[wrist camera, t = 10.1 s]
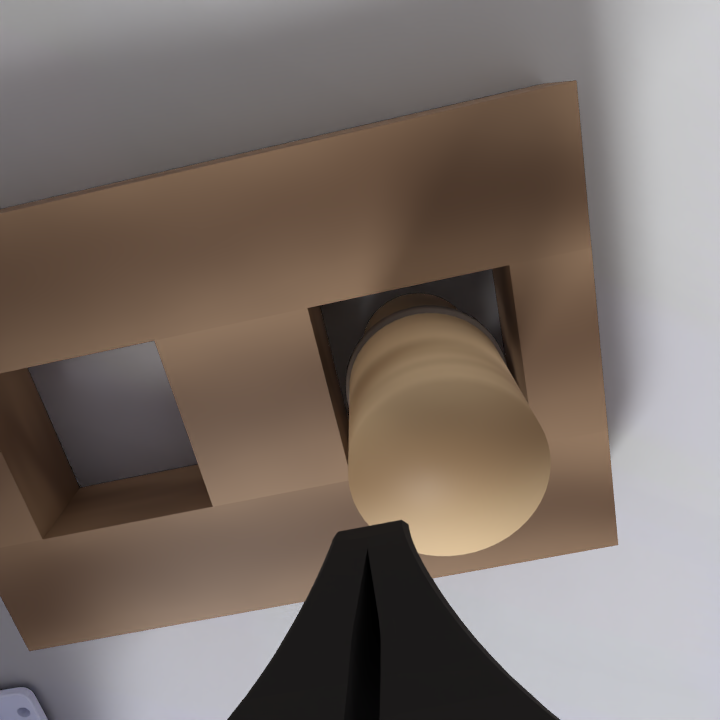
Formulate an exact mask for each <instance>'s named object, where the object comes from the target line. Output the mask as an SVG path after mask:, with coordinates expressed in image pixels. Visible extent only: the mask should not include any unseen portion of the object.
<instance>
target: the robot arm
mask: <svg viewBox="0 0 720 720" xmlns="http://www.w3.org/2000/svg"><path fill="white" fill-rule="evenodd" d="M0 720H48V719H47V717H46V715H45V713H44V711H43V710H42V708H41V706H40V704H39V702H38V700H37V698H36V697H35V695H34V693H33V692H32V691H31V690H30V689H28V688H25V687H17V688H11V689H5V690H0ZM227 720H560V719H559V718H557V717H556V716H555V715H554V714H552V713H551V712H550V711H549V710H548V709H546V708H545V707H544V706H543V705H542V704H541V703H540V702H539V701H538V700H537V699H535V698H534V697H533V696H532V695H531V694H530V693H529V692H528V691H527V690H526V689H524V688H523V687H522V686H521V685H520V684H519V683H518V682H517V681H516V680H515V679H513V678H512V677H511V676H510V675H509V674H508V673H507V672H506V671H505V670H504V669H503V668H502V666H501V665H500V664H499V663H498V662H497V661H496V660H495V659H494V658H493V657H492V656H491V655H490V654H489V653H488V652H487V651H486V649H485V648H484V647H483V646H482V645H481V644H480V643H479V642H478V640H477V639H476V638H475V637H474V636H473V634H472V633H471V632H470V631H469V630H468V628H467V627H466V626H465V625H464V623H463V622H462V621H461V619H460V618H459V617H458V615H457V614H456V613H455V611H454V610H453V609H452V607H451V606H450V605H449V603H448V602H447V600H446V599H445V597H444V596H443V595H442V593H441V592H440V590H439V588H438V587H437V585H436V584H435V582H434V580H433V579H432V577H431V576H430V574H429V572H428V571H427V569H426V567H425V565H424V564H423V562H422V560H421V558H420V556H419V554H418V552H417V550H416V547H415V545H414V543H413V540H412V538H411V533H410V529H409V524H408V523H406V522H404V521H403V520H397V521H392V522H387V523H381V524H376V525H371V526H365V527H360V528H355V529H349V530H344V531H339V532H337V534H336V535H335V536H334V538H333V540H332V543H331V545H330V548H329V550H328V553H327V555H326V558H325V560H324V562H323V565H322V567H321V569H320V571H319V573H318V576H317V578H316V580H315V582H314V584H313V586H312V588H311V590H310V592H309V594H308V596H307V598H306V600H305V602H304V604H303V606H302V608H301V610H300V612H299V614H298V615H297V617H296V619H295V621H294V623H293V624H292V626H291V628H290V629H289V631H288V633H287V634H286V636H285V638H284V640H283V641H282V643H281V645H280V646H279V648H278V650H277V651H276V653H275V655H274V656H273V658H272V659H271V661H270V662H269V664H268V665H267V667H266V668H265V670H264V671H263V673H262V674H261V676H260V677H259V678H258V680H257V681H256V683H255V684H254V686H253V687H252V688H251V690H250V691H249V692H248V694H247V695H246V697H245V698H244V699H243V700H242V702H241V703H240V704H239V705H238V707H237V708H236V709H235V710H234V712H233V713H232V714H231V716H230V717H229V718H228V719H227Z"/></svg>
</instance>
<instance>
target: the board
mask: <svg viewBox="0 0 720 720" xmlns="http://www.w3.org/2000/svg"><path fill="white" fill-rule="evenodd" d="M489 269H492V271H493V278H494V284H495V291H496V298H497V305H498V312H499V318H500V325H501V332H502V339H503V346H504V352H505V359H506V363H507V368H508V370H509V371H510V373H511V375H512V377H513V378H514V380H515V382H516V384H517V385H518V387H519V389H520V390H521V392H522V394H523V396H524V397H525V399H526V401H527V403H528V404H529V406H530V408H531V410H532V411H533V413H534V415H535V416H536V418H537V420H538V422H539V423H540V425H541V427H542V429H543V431H544V433H545V436H546V439H547V442H548V445H549V450H550V457H551V469H550V477H549V481H548V485H547V489H546V491H545V494H544V496H543V498H542V500H541V502H540V504H539V506H538V507H537V509H536V510H535V512H534V513H533V514H532V516H531V517H530V518H529V519H528V521H527V522H525V523H524V524H523V525H522V526H521V527H520V528H519V529H518V530H517V531H516V532H514V533H513V534H512V535H510V536H509V537H507V538H506V539H504V540H502V541H501V542H499V543H497V544H495V545H493V546H490V547H488V548H486V549H483V550H480V551H477V552H473V553H468V554H464V555H456V556H432V555H424V554H420V553H418V554H419V556H420V558H421V560H422V562H423V564H424V565H425V567H426V569H427V571H428V572H429V574H430V576H431V577H432V578H437V577H443V576H449V575H454V574H460V573H465V572H471V571H476V570H482V569H487V568H493V567H498V566H504V565H509V564H515V563H521V562H526V561H532V560H537V559H543V558H548V557H554V556H559V555H565V554H570V553H576V552H581V551H587V550H593V549H598V548H604V547H609V546H615V545H618V538H617V526H616V515H615V504H614V493H613V482H612V471H611V460H610V449H609V437H608V426H607V415H606V404H605V393H604V382H603V371H602V359H601V348H600V337H599V326H598V315H597V304H596V293H595V282H594V270H593V259H592V248H591V237H590V226H589V215H588V204H587V192H586V181H585V170H584V159H583V148H582V137H581V126H580V114H579V103H578V92H577V81H566V82H555V83H545V84H540V85H535V86H531V87H527V88H522V89H518V90H514V91H509V92H505V93H501V94H496V95H492V96H488V97H483V98H479V99H475V100H471V101H466V102H462V103H458V104H453V105H449V106H445V107H440V108H436V109H432V110H427V111H423V112H419V113H414V114H410V115H406V116H401V117H397V118H393V119H388V120H384V121H380V122H375V123H371V124H367V125H362V126H358V127H354V128H350V129H345V130H341V131H337V132H332V133H328V134H324V135H319V136H315V137H311V138H306V139H302V140H298V141H293V142H289V143H285V144H280V145H276V146H272V147H267V148H263V149H259V150H254V151H250V152H246V153H241V154H237V155H233V156H228V157H224V158H220V159H216V160H211V161H207V162H203V163H198V164H194V165H190V166H185V167H181V168H177V169H172V170H168V171H164V172H159V173H155V174H151V175H146V176H142V177H138V178H133V179H129V180H125V181H120V182H116V183H112V184H107V185H103V186H99V187H94V188H90V189H86V190H82V191H77V192H73V193H69V194H64V195H60V196H56V197H51V198H47V199H43V200H38V201H34V202H30V203H25V204H21V205H17V206H12V207H8V208H4V209H0V596H1V598H2V600H3V602H4V604H5V606H6V608H7V610H8V612H9V613H10V615H11V617H12V619H13V621H14V623H15V625H16V627H17V629H18V631H19V633H20V634H21V636H22V638H23V640H24V642H25V644H26V646H27V648H28V650H29V651H33V650H39V649H44V648H50V647H55V646H61V645H66V644H72V643H77V642H83V641H89V640H94V639H100V638H105V637H111V636H116V635H122V634H127V633H133V632H138V631H144V630H149V629H155V628H161V627H166V626H172V625H177V624H183V623H188V622H194V621H199V620H205V619H210V618H216V617H221V616H227V615H233V614H238V613H244V612H249V611H255V610H260V609H266V608H271V607H277V606H282V605H288V604H293V603H299V602H305V600H306V598H307V596H308V594H309V592H310V590H311V588H312V586H313V584H314V582H315V580H316V578H317V576H318V573H319V571H320V569H321V567H322V565H323V562H324V560H325V558H326V555H327V553H328V550H329V548H330V545H331V543H332V540H333V538H334V536H335V535H336V534H337V532H339V531H344V530H349V529H355V528H360V527H365V526H369V525H368V524H367V522H366V521H365V520H364V519H363V517H362V516H361V514H360V513H359V511H358V509H357V507H356V505H355V503H354V501H353V498H352V495H351V492H350V487H349V480H348V453H349V420H348V416H347V412H346V408H345V404H344V400H343V396H342V392H341V388H340V384H339V380H338V376H337V372H336V368H335V364H334V360H333V356H332V352H331V348H330V344H329V340H328V336H327V332H326V328H325V324H324V320H323V316H322V312H321V308H320V305H324V304H329V303H333V302H338V301H343V300H348V299H352V298H357V297H362V296H366V295H371V294H376V293H381V292H385V291H390V290H395V289H399V288H404V287H409V286H413V285H418V284H423V283H428V282H432V281H437V280H442V279H446V278H451V277H456V276H460V275H465V274H470V273H475V272H479V271H484V270H489ZM150 341H155V344H156V347H157V349H158V352H159V355H160V358H161V361H162V364H163V366H164V369H165V372H166V375H167V378H168V381H169V383H170V386H171V389H172V392H173V395H174V398H175V400H176V403H177V406H178V409H179V412H180V415H181V417H182V420H183V423H184V426H185V429H186V432H187V434H188V437H189V440H190V443H191V446H192V449H193V451H194V454H195V457H196V460H197V463H198V464H197V465H192V466H187V467H182V468H177V469H172V470H167V471H162V472H157V473H152V474H147V475H142V476H137V477H131V478H126V479H121V480H116V481H111V482H106V483H101V484H96V485H91V486H86V487H81V488H79V486H78V483H77V481H76V479H75V476H74V474H73V472H72V469H71V467H70V465H69V463H68V460H67V458H66V456H65V453H64V451H63V449H62V446H61V444H60V442H59V440H58V437H57V435H56V433H55V430H54V428H53V426H52V423H51V421H50V419H49V417H48V414H47V412H46V410H45V407H44V405H43V403H42V401H41V398H40V396H39V394H38V391H37V389H36V387H35V384H34V382H33V380H32V378H31V375H30V373H29V371H28V367H33V366H37V365H42V364H47V363H51V362H56V361H61V360H66V359H70V358H75V357H80V356H84V355H89V354H94V353H98V352H103V351H108V350H113V349H117V348H122V347H127V346H131V345H136V344H141V343H145V342H150Z"/></svg>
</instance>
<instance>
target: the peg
mask: <svg viewBox="0 0 720 720" xmlns="http://www.w3.org/2000/svg"><path fill="white" fill-rule="evenodd" d="M346 396H347V402H348V405H349V453H348V480H349V487H350V492H351V495H352V498H353V501H354V503H355V505H356V507H357V509H358V511H359V513H360V514H361V516H362V517H363V519H364V520H365V521H366V522H367V524H368V525H369V526H371V525H376V524H381V523H387V522H392V521H397V520H403V521H404V522H406V523H408V524H409V529H410V533H411V538H412V540H413V543H414V545H415V547H416V550H417V552H418V553H420V554H424V555H432V556H456V555H464V554H468V553H473V552H477V551H480V550H483V549H486V548H488V547H490V546H493V545H495V544H497V543H499V542H501V541H502V540H504V539H506V538H507V537H509V536H510V535H512V534H513V533H514V532H516V531H517V530H518V529H519V528H520V527H521V526H522V525H523V524H524V523H525V522H527V521H528V519H529V518H530V517H531V516H532V514H533V513H534V512H535V510H536V509H537V507H538V506H539V504H540V502H541V500H542V498H543V496H544V494H545V491H546V489H547V485H548V481H549V477H550V469H551V457H550V450H549V445H548V442H547V439H546V436H545V433H544V431H543V429H542V427H541V425H540V423H539V422H538V420H537V418H536V416H535V415H534V413H533V411H532V410H531V408H530V406H529V404H528V403H527V401H526V399H525V397H524V396H523V394H522V392H521V390H520V389H519V387H518V385H517V384H516V382H515V380H514V378H513V377H512V375H511V373H510V371H509V370H508V368H507V363H506V360H505V358H504V355H503V353H502V351H501V349H500V347H499V345H498V343H497V342H496V340H495V339H494V337H493V336H492V334H491V333H490V332H489V331H488V330H487V329H486V328H485V327H484V326H483V325H482V324H481V323H480V322H478V321H477V320H476V319H474V318H473V317H471V316H469V315H467V314H466V313H463V312H461V311H459V310H458V309H457V308H456V307H455V306H453V305H452V304H451V303H449V302H448V301H446V300H444V299H442V298H440V297H437V296H434V295H430V294H423V293H414V294H407V295H403V296H400V297H397V298H394V299H392V300H391V301H389V302H387V303H386V304H384V305H383V306H381V307H380V308H379V309H378V310H377V311H376V312H375V314H374V315H373V316H372V317H371V319H370V321H369V322H368V324H367V326H366V329H365V332H364V335H363V337H362V338H361V339H360V340H359V342H358V344H357V345H356V347H355V348H354V351H353V353H352V355H351V357H350V360H349V364H348V368H347V374H346Z"/></svg>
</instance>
